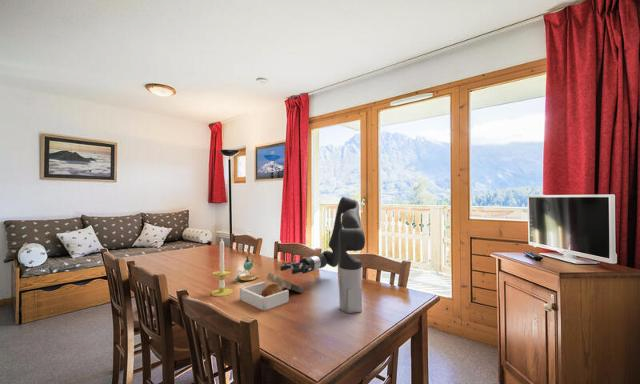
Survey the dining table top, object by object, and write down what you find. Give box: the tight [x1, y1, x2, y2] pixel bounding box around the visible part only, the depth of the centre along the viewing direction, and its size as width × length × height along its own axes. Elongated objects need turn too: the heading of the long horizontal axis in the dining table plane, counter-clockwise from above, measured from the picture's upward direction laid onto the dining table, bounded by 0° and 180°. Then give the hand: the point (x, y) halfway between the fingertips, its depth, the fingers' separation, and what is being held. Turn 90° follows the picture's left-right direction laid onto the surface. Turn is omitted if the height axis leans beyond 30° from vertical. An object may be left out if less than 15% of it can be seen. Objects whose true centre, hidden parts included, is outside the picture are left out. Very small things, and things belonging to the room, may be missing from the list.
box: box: [239, 281, 290, 312], centre depth 125 cm, size 13×18×5 cm
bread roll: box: [261, 283, 284, 297], centre depth 128 cm, size 10×10×8 cm
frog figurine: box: [233, 254, 261, 285], centre depth 157 cm, size 10×18×15 cm, turn 134°
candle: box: [210, 237, 233, 297], centre depth 135 cm, size 10×10×27 cm
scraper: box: [266, 272, 305, 294], centre depth 133 cm, size 3×12×18 cm
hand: (286, 270), depth 135 cm, fingers open, 8 cm apart
